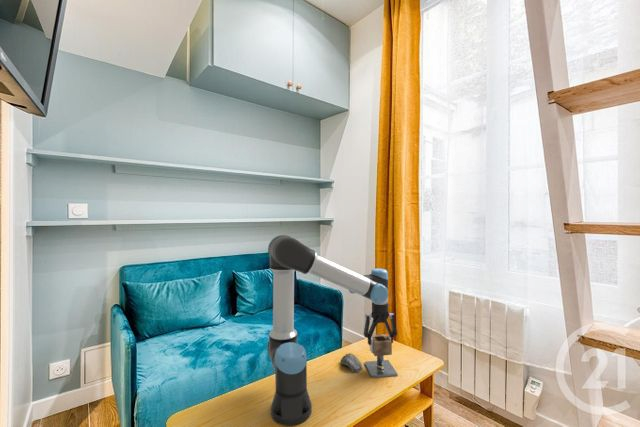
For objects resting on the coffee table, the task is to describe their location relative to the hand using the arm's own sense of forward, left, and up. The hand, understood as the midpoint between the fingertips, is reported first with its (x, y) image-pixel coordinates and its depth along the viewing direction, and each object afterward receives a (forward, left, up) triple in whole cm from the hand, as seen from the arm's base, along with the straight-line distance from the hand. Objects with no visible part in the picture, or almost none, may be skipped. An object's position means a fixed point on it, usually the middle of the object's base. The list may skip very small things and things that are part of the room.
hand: (380, 350), depth 138 cm
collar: (0, 0, 0) cm, 0 cm away
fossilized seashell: (-13, +5, -9) cm, 17 cm away
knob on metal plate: (0, 0, -9) cm, 9 cm away
